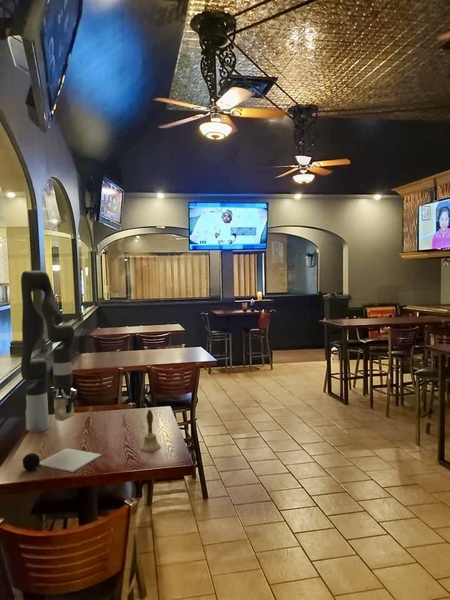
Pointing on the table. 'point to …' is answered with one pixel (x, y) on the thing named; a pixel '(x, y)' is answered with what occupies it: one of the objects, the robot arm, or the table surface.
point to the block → (62, 409)
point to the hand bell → (150, 436)
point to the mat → (69, 460)
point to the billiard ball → (31, 461)
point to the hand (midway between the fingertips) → (64, 411)
